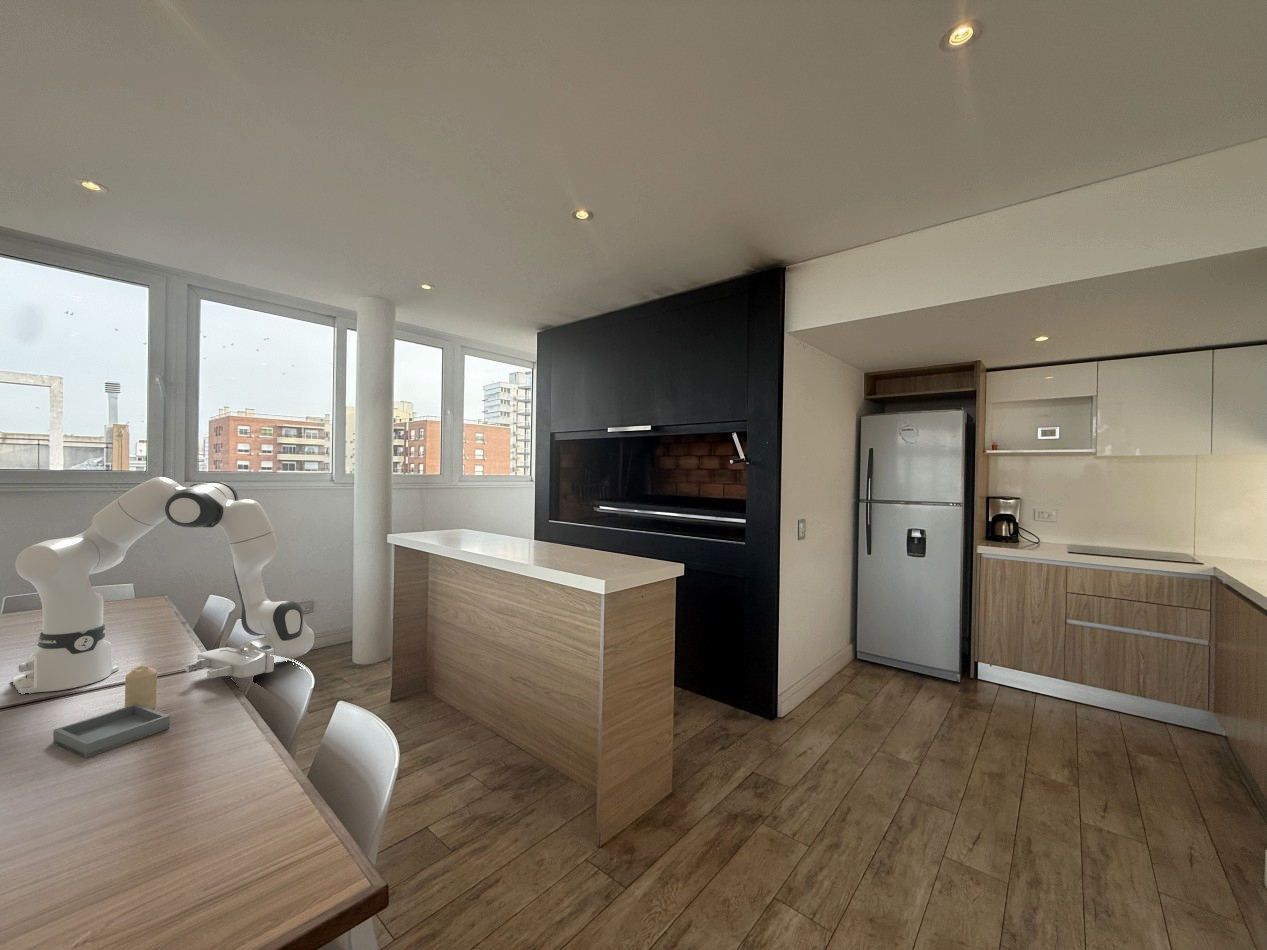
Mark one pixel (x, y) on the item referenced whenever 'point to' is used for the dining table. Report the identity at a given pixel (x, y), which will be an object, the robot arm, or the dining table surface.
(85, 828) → the dining table surface
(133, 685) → the candle
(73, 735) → the serving tray
